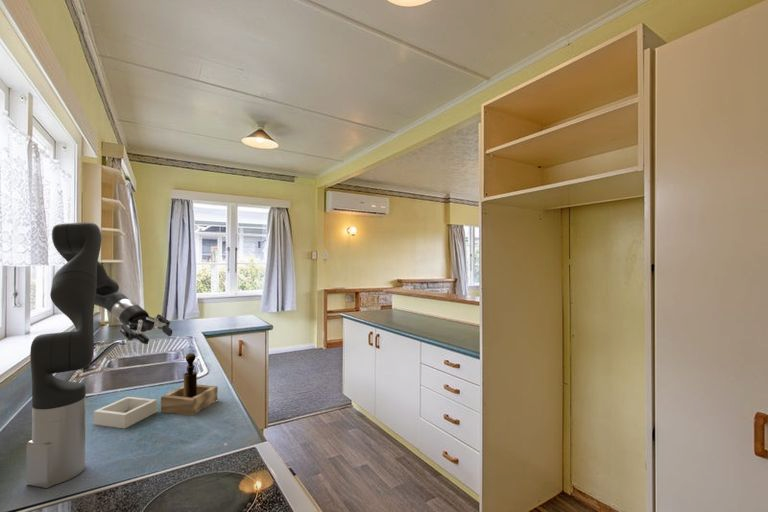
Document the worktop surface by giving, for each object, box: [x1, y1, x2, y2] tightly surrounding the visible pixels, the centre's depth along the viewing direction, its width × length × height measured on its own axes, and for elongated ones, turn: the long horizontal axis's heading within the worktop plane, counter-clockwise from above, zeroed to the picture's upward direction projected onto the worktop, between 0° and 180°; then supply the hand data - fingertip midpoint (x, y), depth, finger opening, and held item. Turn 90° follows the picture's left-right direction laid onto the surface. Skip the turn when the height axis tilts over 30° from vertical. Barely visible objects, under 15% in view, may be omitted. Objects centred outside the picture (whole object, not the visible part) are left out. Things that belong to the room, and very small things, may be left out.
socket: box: [160, 384, 219, 416], centre depth 120 cm, size 12×12×5 cm
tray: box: [93, 396, 158, 429], centre depth 111 cm, size 11×11×4 cm
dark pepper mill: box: [183, 352, 198, 398], centre depth 120 cm, size 7×6×18 cm
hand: (159, 337), depth 122 cm, fingers open, 8 cm apart
